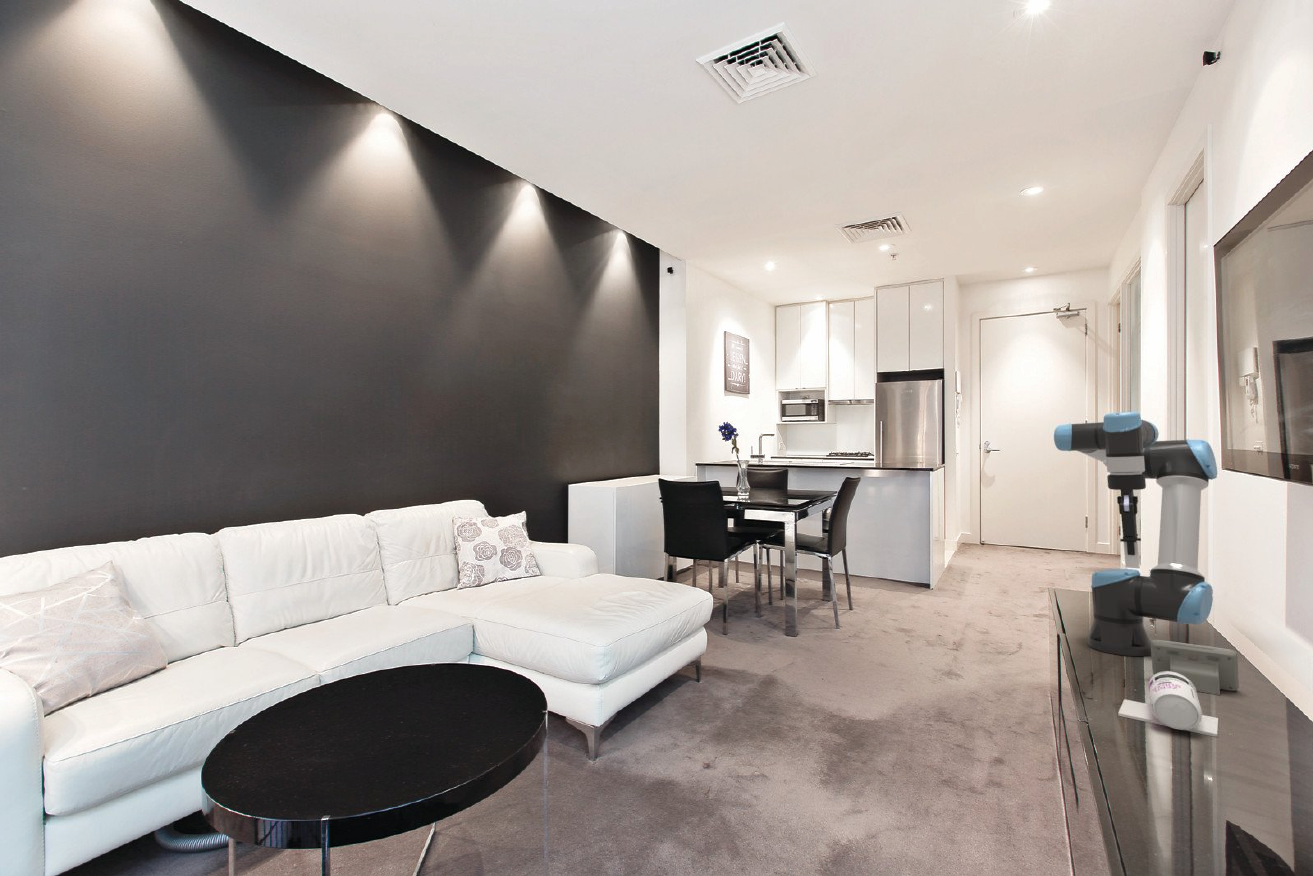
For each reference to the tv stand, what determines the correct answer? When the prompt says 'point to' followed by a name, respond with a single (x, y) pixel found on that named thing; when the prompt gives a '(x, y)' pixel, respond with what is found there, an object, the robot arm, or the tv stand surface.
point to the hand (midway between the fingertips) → (1132, 567)
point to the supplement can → (1174, 700)
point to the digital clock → (1197, 664)
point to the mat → (1145, 714)
